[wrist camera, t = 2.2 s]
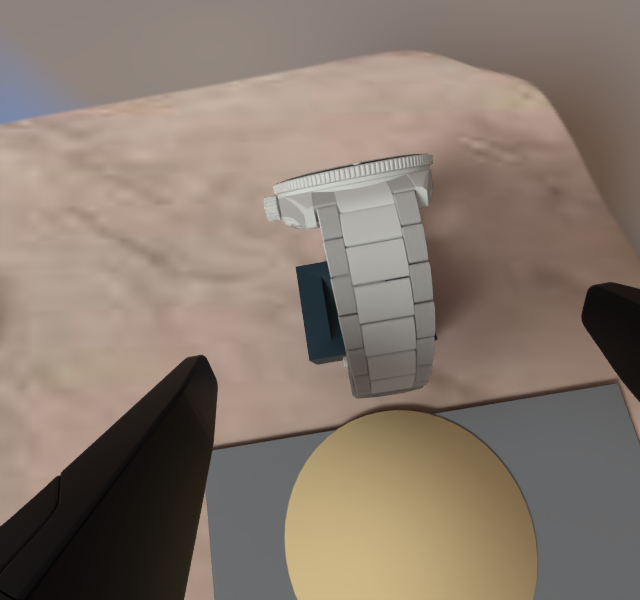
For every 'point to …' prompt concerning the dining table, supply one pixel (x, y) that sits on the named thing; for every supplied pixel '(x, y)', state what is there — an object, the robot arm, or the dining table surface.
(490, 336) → the dining table surface
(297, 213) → the watch
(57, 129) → the dining table surface
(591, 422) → the mat
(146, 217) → the dining table surface
